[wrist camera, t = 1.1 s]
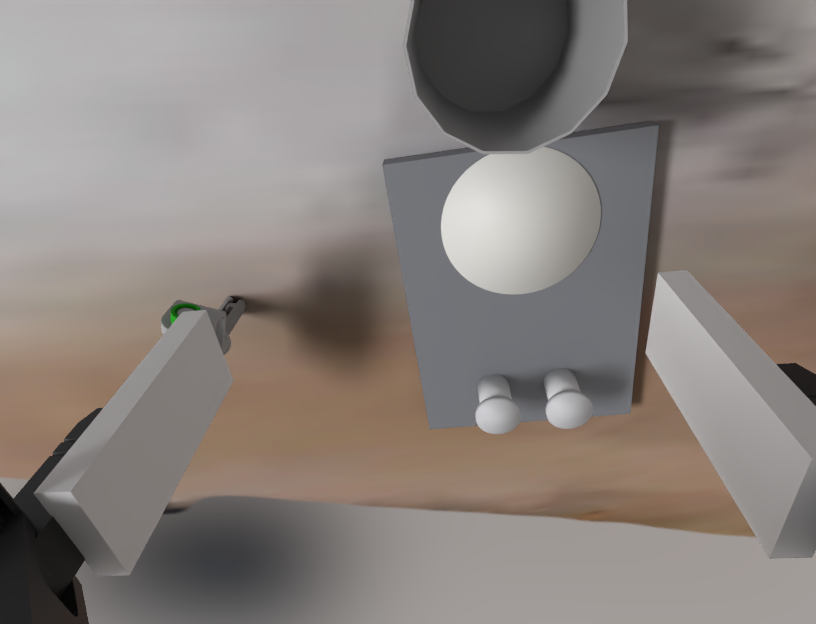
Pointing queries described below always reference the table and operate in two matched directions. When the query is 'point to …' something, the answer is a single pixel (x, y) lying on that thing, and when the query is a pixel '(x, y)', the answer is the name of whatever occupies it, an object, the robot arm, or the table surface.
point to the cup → (512, 67)
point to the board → (526, 276)
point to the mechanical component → (220, 318)
